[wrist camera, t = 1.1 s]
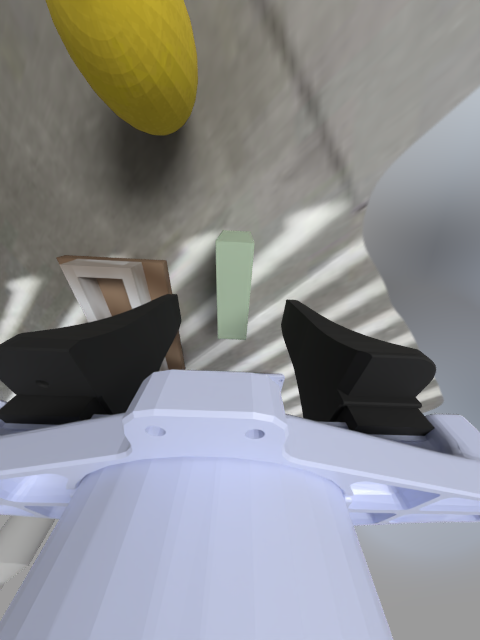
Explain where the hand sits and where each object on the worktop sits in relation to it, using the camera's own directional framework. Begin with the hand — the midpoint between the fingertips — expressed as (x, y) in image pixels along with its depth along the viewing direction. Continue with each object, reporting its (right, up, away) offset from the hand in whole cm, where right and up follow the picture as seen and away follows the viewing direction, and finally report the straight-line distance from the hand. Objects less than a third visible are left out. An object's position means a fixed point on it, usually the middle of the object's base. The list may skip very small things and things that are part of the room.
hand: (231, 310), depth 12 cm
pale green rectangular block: (0, +4, +7) cm, 8 cm away
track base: (-12, -1, +10) cm, 16 cm away
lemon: (-4, +15, 0) cm, 15 cm away
